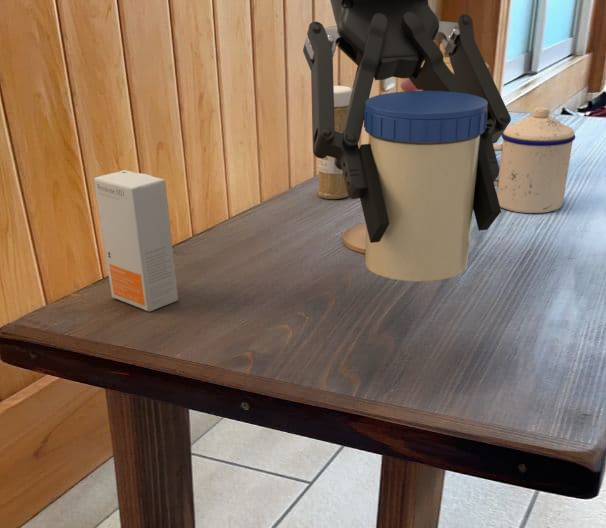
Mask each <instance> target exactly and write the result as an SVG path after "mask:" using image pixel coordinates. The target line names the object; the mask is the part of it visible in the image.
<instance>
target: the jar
mask: <svg viewBox="0 0 606 528" xmlns="http://www.w3.org/2000/svg"><path fill="white" fill-rule="evenodd" d="M367 144H371V149H372V153H373V157H374V161H375V165H376V169H377V174H378V178H379V182H380V186H381V190H382V194H383V199H384V203H385V207H386V211H387V215H388V219H389V225H388V227H387V229H386V231H385V233H384V235H383V237H382V238H381V240H380V242H374V243H370V239H369V234H368V230H367V226H366V252H365V255H364V256H365V257H364V258H365V259H364V263H365V267H366V269H368V271H370V272H371V273H373V274H375V275H378V276H380V277H382V278H387V279H390V280H397V281H401V282H402V281H403V282H433V281H434V282H435V281H442V280H446V279H450V278H454V277H457V276H459V275H461V274H462V273H464V272H465V271H466V270H467V269H468V263H469V253H470V243H471V236H472V235H471V233H472V223H473V214H474V210H473V204H474V194H475V184H476V174H477V164H478V154H479V144H480V135H479V136H476V137H473V138H469V139H464V140H458V141H449V142H430V143H429V142H428V143H427V142H403V141H394V140H388V139H383V138H379V137H375V136H373V135H370V134H368V143H367Z"/></svg>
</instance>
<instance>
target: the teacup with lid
mask: <svg viewBox="0 0 606 528" xmlns="http://www.w3.org/2000/svg"><path fill="white" fill-rule="evenodd" d="M550 110H551V109H550V108H549V107H546V106H536V107H535V108H533V111H532V115H529V116H526V117H524V118H523V119H521V120H520V121H518V122H516V123H512V124H508V126H507V127H506V129H505V131H504V132H503V134H502V135H501V138H502V144H500V143H497V144H496V143H493V146H494V150H495V152H501V155H500V163H499V175H498V179H497V178H496V179H495V181H494V185H495V187H497V190H496V193H497V197H498V201H499V205H500V208H501V209H503V210H507V211H510V212H515V213H522V214H544V213H550V212H554V211H557V210H559V209H561V207H562V206H563V204H564V198H565V191H566V188H567V187H566V186H567V179H568V173H569V168H570V160H571V156H572V155H571V154H572V147H573V142H574V141H575V139H576V133H575V130H574V129H573V128H572V127H570V126H568V125H566V124H563V123H562V122H560V120H559V119H557V118H555V117H554V116H551V115H550V112H551V111H550Z"/></svg>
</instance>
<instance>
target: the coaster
mask: <svg viewBox="0 0 606 528" xmlns="http://www.w3.org/2000/svg"><path fill="white" fill-rule="evenodd" d="M342 243H343V245H344V246H345V247H347V248H348V249H349V250H351V251H354V252H357V253H360V254H365V252H366V222H365V223H359V224H357V225H354V226H351V227H349V228H348V229H346V230H345V231H344V232H343V234H342Z"/></svg>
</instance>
